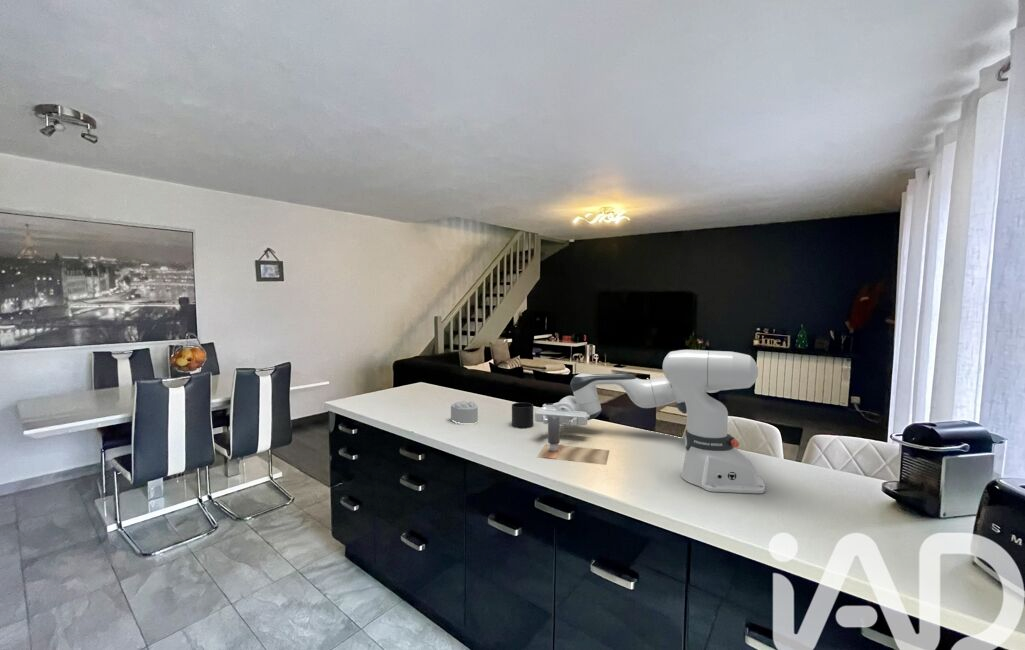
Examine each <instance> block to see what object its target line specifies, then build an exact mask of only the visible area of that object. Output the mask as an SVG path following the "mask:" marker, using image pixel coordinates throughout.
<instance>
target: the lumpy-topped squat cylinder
mask: <svg viewBox="0 0 1025 650" xmlns="http://www.w3.org/2000/svg"><path fill="white" fill-rule="evenodd" d="M478 407H479V406H478V404H476V403H475V402H474V401H472V400H470V401H469V402H468V401H466V400H460V401H456V402H454V403H452V404H450V420H451V419H452V420H454V421H456V422H460V423H475V422H477V421H478V420H479V419H478V418H479V416H478V413H479V412H478V410H479V409H478ZM477 423H478V422H477Z"/></svg>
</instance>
